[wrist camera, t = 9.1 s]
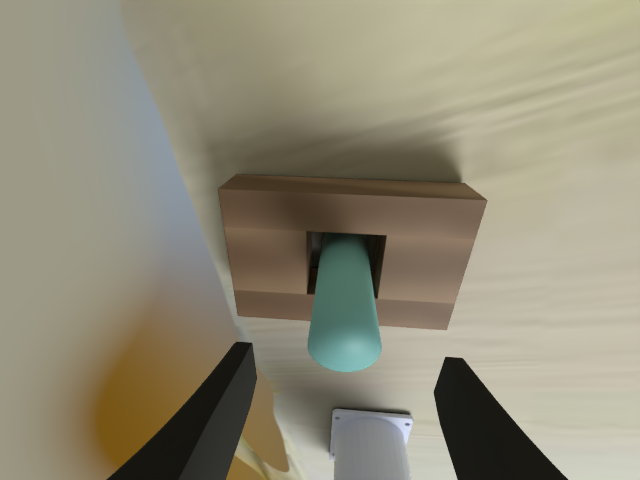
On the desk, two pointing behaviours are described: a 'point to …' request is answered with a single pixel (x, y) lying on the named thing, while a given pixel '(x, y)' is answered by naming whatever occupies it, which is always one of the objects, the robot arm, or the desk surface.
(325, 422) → the desk surface
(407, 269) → the hole block
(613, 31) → the desk surface
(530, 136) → the desk surface
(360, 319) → the peg
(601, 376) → the desk surface
